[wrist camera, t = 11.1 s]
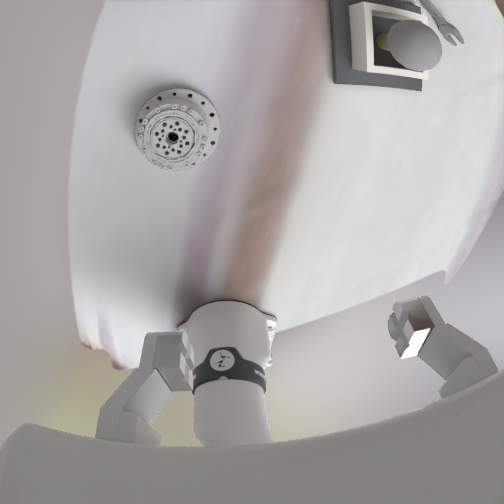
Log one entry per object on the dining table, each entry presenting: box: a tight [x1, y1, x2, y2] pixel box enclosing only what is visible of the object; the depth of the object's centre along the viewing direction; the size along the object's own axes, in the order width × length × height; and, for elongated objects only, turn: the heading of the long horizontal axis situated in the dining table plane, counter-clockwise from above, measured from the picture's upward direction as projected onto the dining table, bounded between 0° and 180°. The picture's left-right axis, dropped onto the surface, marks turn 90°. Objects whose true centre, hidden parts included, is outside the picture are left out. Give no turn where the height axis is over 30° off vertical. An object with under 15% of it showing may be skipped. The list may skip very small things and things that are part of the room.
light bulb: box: [376, 20, 442, 71], centre depth 20 cm, size 6×6×10 cm
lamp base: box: [329, 0, 429, 91], centre depth 23 cm, size 12×12×5 cm
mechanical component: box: [135, 88, 221, 171], centre depth 30 cm, size 10×4×10 cm
